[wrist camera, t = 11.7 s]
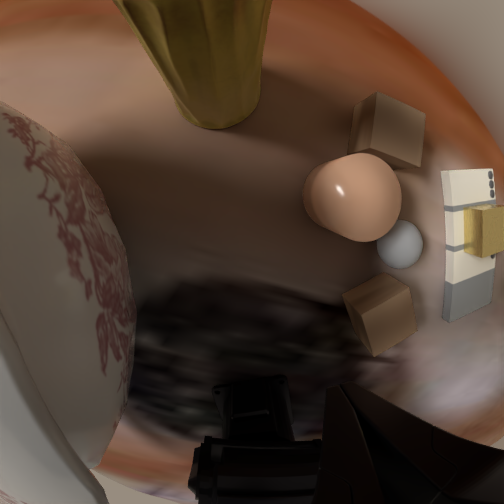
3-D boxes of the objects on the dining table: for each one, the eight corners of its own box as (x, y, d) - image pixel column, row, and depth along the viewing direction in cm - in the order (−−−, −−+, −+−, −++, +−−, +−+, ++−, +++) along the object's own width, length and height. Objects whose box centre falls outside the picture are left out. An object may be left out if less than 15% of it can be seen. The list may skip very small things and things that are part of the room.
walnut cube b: (391, 170, 19) (420, 167, 15) (346, 154, 19) (370, 147, 15) (397, 123, 18) (425, 114, 14) (353, 106, 18) (377, 91, 14)
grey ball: (406, 257, 21) (432, 268, 17) (370, 266, 20) (392, 279, 17) (404, 214, 20) (430, 219, 16) (366, 220, 20) (390, 226, 16)
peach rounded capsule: (370, 224, 20) (405, 233, 15) (308, 235, 20) (330, 249, 15) (360, 158, 19) (394, 150, 14) (296, 165, 19) (316, 157, 14)
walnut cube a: (393, 310, 22) (417, 330, 18) (354, 332, 22) (373, 357, 18) (383, 271, 21) (409, 287, 17) (341, 294, 21) (361, 315, 17)
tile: (487, 244, 20) (505, 249, 17) (464, 252, 19) (482, 258, 17) (487, 203, 19) (505, 205, 16) (463, 207, 19) (482, 210, 16)
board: (484, 299, 22) (491, 303, 21) (442, 318, 22) (449, 323, 21) (484, 168, 19) (493, 168, 18) (440, 170, 19) (449, 170, 18)
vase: (277, 96, 18) (345, -45, 4) (210, 147, 18) (145, 45, 4) (224, 42, 16) (213, -106, 2) (158, 90, 17) (58, -28, 3)
